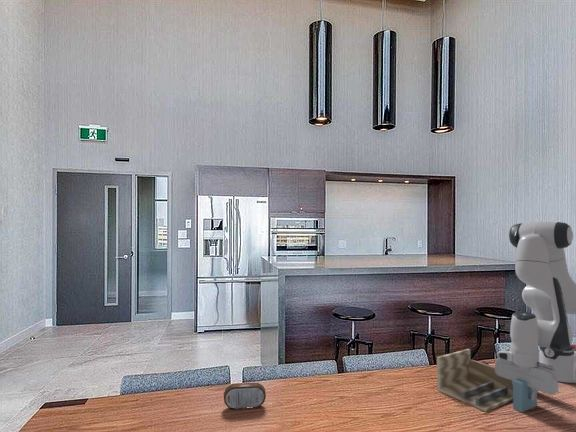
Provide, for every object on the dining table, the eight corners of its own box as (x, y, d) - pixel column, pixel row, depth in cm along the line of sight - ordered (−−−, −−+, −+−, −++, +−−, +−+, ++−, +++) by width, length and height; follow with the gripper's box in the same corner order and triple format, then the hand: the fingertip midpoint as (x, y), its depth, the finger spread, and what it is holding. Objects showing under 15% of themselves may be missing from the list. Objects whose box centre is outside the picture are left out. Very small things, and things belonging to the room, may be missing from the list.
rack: (468, 379, 157) (467, 348, 157) (516, 398, 140) (516, 364, 140) (437, 389, 147) (436, 357, 147) (485, 412, 129) (485, 374, 130)
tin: (265, 404, 135) (265, 381, 135) (266, 408, 132) (266, 384, 132) (223, 407, 132) (223, 383, 133) (223, 411, 129) (223, 387, 130)
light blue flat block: (528, 402, 137) (527, 374, 137) (537, 405, 134) (536, 377, 135) (513, 408, 132) (513, 380, 132) (522, 412, 129) (521, 383, 130)
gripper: (561, 366, 126) (562, 406, 126) (501, 348, 144) (502, 384, 144) (552, 369, 123) (553, 411, 123) (492, 351, 141) (492, 388, 140)
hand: (525, 396), depth 133 cm, fingers closed on light blue flat block, 3 cm apart
